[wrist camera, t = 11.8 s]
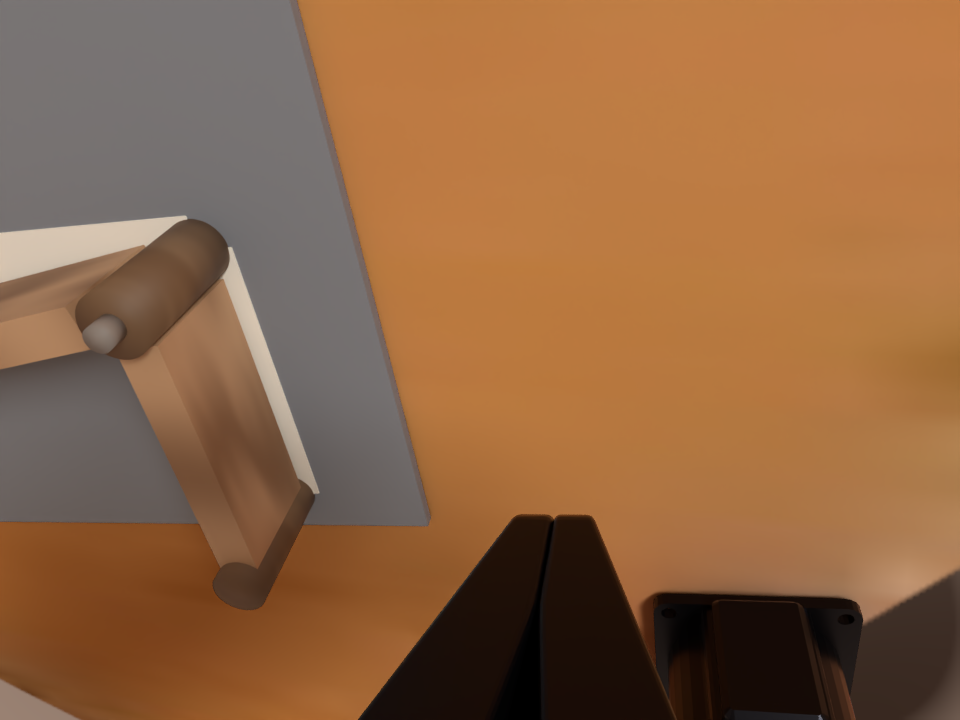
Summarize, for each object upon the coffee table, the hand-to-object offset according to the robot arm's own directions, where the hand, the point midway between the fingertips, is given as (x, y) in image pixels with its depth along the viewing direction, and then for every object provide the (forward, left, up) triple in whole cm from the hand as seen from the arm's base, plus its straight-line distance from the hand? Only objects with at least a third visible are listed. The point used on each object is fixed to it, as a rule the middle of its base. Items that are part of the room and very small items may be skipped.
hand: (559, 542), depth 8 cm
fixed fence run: (-6, +11, -12) cm, 17 cm away
